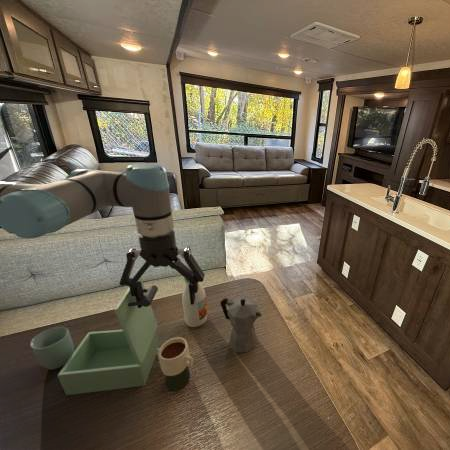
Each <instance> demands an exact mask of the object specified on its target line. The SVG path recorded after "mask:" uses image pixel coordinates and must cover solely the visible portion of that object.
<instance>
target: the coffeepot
mask: <svg viewBox="0 0 450 450" xmlns="http://www.w3.org/2000/svg"><path fill="white" fill-rule="evenodd" d="M219 304H220V307H221V309H222V312H223V315H224V317H225V319H226V320H229V321H230V325H231V327H232V328H231V333H230V337H229V343H228V345H229V346H230V348H231V349H232V351H234V352H236V353H247V352H249V351H250V350H252V349H253V348H255V346H256V343H257V333H256V329H255V325H254V324H255V322H256V320H257V319H259V318H261V317H262V313H261V312H260V310H258V306H259V305H258V303H256V302H255V301H254V299H252V298H246V297H240V298H237V299H235V300H233V299H229V298H227V297H224V298H223V299H222V300H220V303H219ZM227 306H228V308H227Z"/></svg>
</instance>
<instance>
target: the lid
mask: <svg viewBox="0 0 450 450" xmlns="http://www.w3.org/2000/svg"><path fill="white" fill-rule="evenodd" d="M138 281H141V284H142V289H143V293H144V298H143V300H142V301H138V302H137V301H136V297H135V296H132V295H131V291H130V287H129V286H128V288H127V289H126V290H125V292H124V294H123V295H122V297H121V298H120V300H119V301H118V303H116V305H115V307H114V309H113V311H114V313H115V315H116V316H115V317H116V318H117V320H118V323H119V325H120V327H121V330H123V332H124V334H125V336H126V339H127V341H128V343H129V345H130V348H131V350H132V352H133V355H134V357H135V359H136V361H137V364H138V366H139V365H142V363H143V360H144V358H145V355H146V353H147V351H148V348H149V346H150V343H151V341H152V339H153V336H154V334H155V331H156V329H157V330H158V326H159V324H158V322H157V319H156V315H155V313H154V310H153V307H152V302H153V301H154V299H155V296H156V294H157V293H158V290H159V288H158V287H159V286H157V285H153V284H152V285H150V286H149V287H148V288H146V287H145V285H144V282H143V278H142V276H141V277H140V279H139V280H138ZM138 281H137V282H138ZM137 305H142V307H141V308H138V306H137Z"/></svg>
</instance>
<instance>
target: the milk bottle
mask: <svg viewBox="0 0 450 450" xmlns="http://www.w3.org/2000/svg"><path fill="white" fill-rule="evenodd" d="M184 283H185V286H184V289H183V290H182V295H181V300H182V301H181V302H182V309H183V317H184V323H185V324H186V326H188V327H190V328H198V327H201V326H202V325H204V324H205V323H206V322H207V319H208V307H207V297H206V296H207V295H206V291H205V288H204V287H203V285H202V284H201V282H198V291H197V293H195V302H194V305H191V302H190V294H189V281H188V280H187V279H186V278H185V277H184Z"/></svg>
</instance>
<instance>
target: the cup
mask: <svg viewBox="0 0 450 450" xmlns="http://www.w3.org/2000/svg"><path fill="white" fill-rule="evenodd" d="M29 346H30V350H31V351H32V352H31V353H32V354H33V356H34V358H35V360H36V361H37V363H38V364H39V365H40V367H42V368H44V369H45V370H49V371H51V370H57V369H60V368H63V367H64V366H65V364H66V363H67V361H68V360H69V359H70V357H71V356H72V354H73V353H74V352H75V350H76V349H75V344H74V341H73V337H72V336H71V333H70V331H69V329H68V328H67V327H66V326H60V325H59V326H58V325H57V326H54V327H50V328H47V329H45V330H44V331H41V332H39V333H38V334H36V335H35V336H34V337H32V339H31V340H30V344H29Z"/></svg>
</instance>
